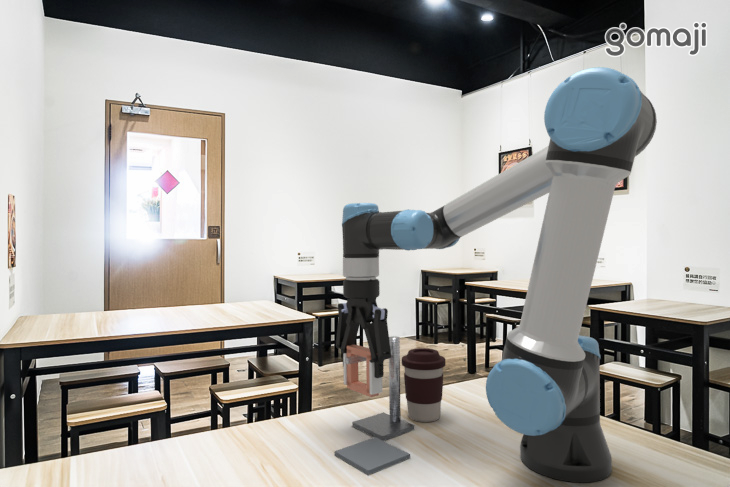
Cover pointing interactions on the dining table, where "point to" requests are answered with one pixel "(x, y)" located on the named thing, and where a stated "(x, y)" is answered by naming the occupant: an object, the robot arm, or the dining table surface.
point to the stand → (384, 423)
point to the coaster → (372, 455)
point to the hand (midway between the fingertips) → (362, 387)
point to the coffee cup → (423, 383)
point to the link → (352, 370)
